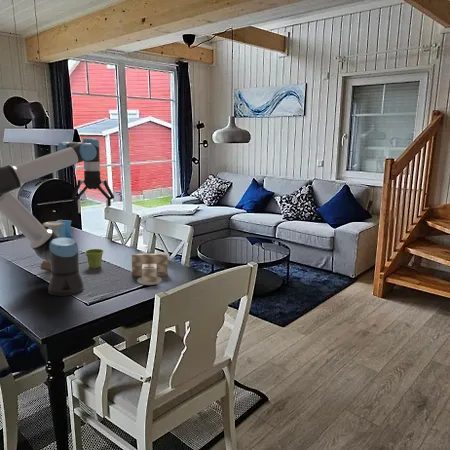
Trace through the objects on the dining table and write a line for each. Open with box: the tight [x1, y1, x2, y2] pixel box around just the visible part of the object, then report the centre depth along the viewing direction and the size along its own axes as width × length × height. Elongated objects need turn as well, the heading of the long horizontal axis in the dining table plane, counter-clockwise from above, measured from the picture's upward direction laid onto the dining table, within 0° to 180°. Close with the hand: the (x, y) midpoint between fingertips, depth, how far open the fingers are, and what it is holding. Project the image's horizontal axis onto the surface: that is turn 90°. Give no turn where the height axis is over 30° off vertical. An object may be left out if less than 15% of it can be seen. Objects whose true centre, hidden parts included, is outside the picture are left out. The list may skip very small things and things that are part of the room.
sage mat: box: [136, 276, 163, 286], centre depth 198 cm, size 12×12×1 cm
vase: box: [57, 219, 74, 240], centre depth 233 cm, size 8×8×20 cm
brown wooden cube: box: [141, 264, 157, 282], centre depth 197 cm, size 7×7×7 cm
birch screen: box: [131, 253, 169, 277], centre depth 205 cm, size 18×4×11 cm, turn 99°
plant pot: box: [85, 248, 104, 269], centre depth 215 cm, size 9×9×9 cm
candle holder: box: [40, 220, 64, 271], centre depth 212 cm, size 11×11×24 cm
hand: (93, 212), depth 200 cm, fingers open, 13 cm apart
